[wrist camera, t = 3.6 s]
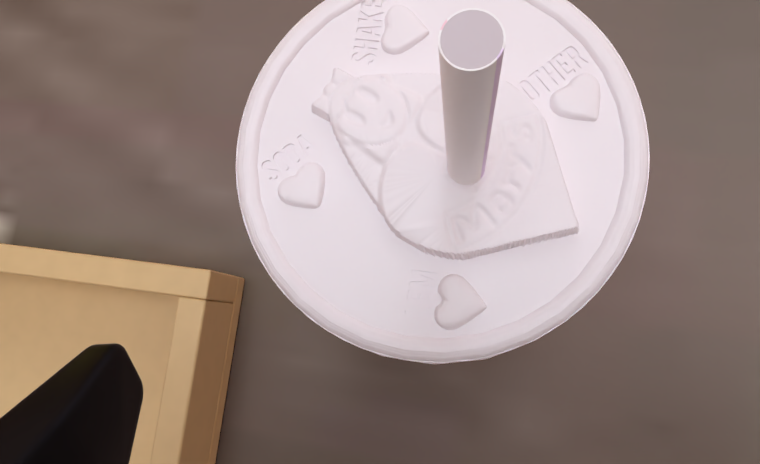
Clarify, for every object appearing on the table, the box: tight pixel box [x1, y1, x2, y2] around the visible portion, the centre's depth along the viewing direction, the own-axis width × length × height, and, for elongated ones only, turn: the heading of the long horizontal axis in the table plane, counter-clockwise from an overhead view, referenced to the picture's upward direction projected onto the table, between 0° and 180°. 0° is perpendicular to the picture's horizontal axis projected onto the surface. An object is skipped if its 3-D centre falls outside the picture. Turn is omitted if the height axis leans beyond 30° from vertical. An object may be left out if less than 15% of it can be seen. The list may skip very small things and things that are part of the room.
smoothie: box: [236, 0, 650, 365], centre depth 12 cm, size 6×6×14 cm
